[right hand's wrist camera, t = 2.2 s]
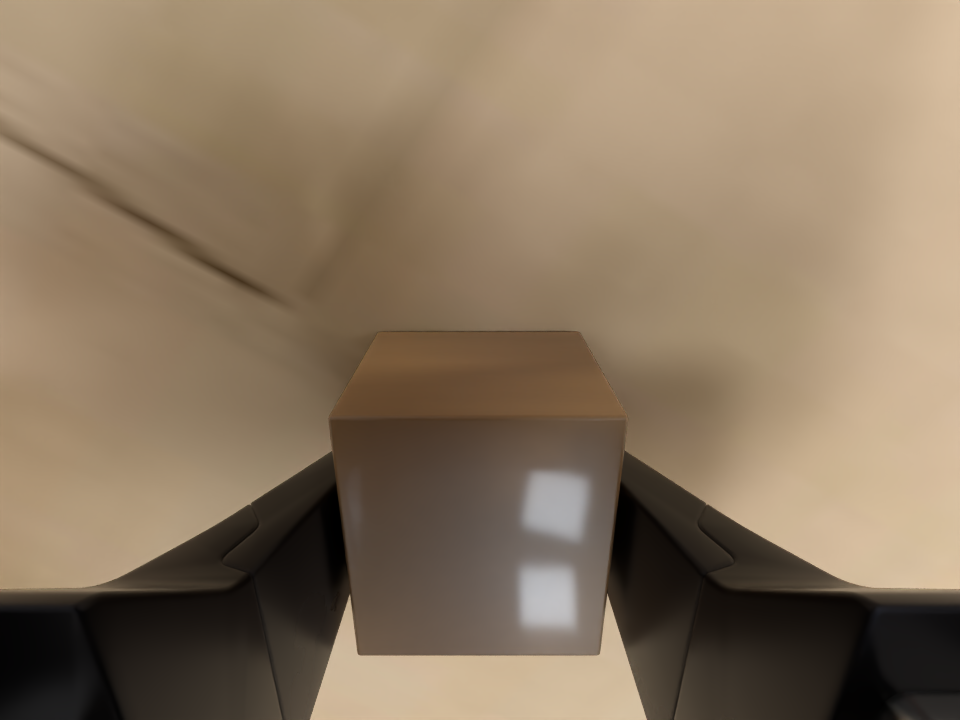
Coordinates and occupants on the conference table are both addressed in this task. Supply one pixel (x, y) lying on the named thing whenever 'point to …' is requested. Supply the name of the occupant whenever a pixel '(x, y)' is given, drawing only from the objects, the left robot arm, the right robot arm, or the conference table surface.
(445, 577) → the block
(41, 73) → the conference table surface
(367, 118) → the conference table surface
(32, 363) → the conference table surface
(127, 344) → the conference table surface
